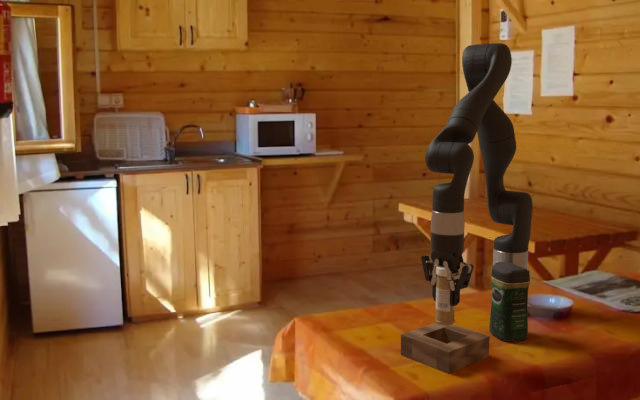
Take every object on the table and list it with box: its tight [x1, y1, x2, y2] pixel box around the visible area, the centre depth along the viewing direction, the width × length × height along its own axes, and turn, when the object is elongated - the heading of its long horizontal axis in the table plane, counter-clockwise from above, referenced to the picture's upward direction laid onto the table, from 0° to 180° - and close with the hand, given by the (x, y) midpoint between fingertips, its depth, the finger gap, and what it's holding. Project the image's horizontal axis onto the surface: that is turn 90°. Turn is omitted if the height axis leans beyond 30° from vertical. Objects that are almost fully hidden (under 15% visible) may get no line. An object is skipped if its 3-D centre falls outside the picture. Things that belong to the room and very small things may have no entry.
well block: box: [400, 322, 491, 375], centre depth 169 cm, size 14×14×5 cm
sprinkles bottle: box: [434, 266, 456, 325], centre depth 167 cm, size 5×5×13 cm
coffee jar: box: [488, 262, 531, 342], centre depth 180 cm, size 10×8×19 cm
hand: (445, 302), depth 167 cm, fingers closed on sprinkles bottle, 4 cm apart
